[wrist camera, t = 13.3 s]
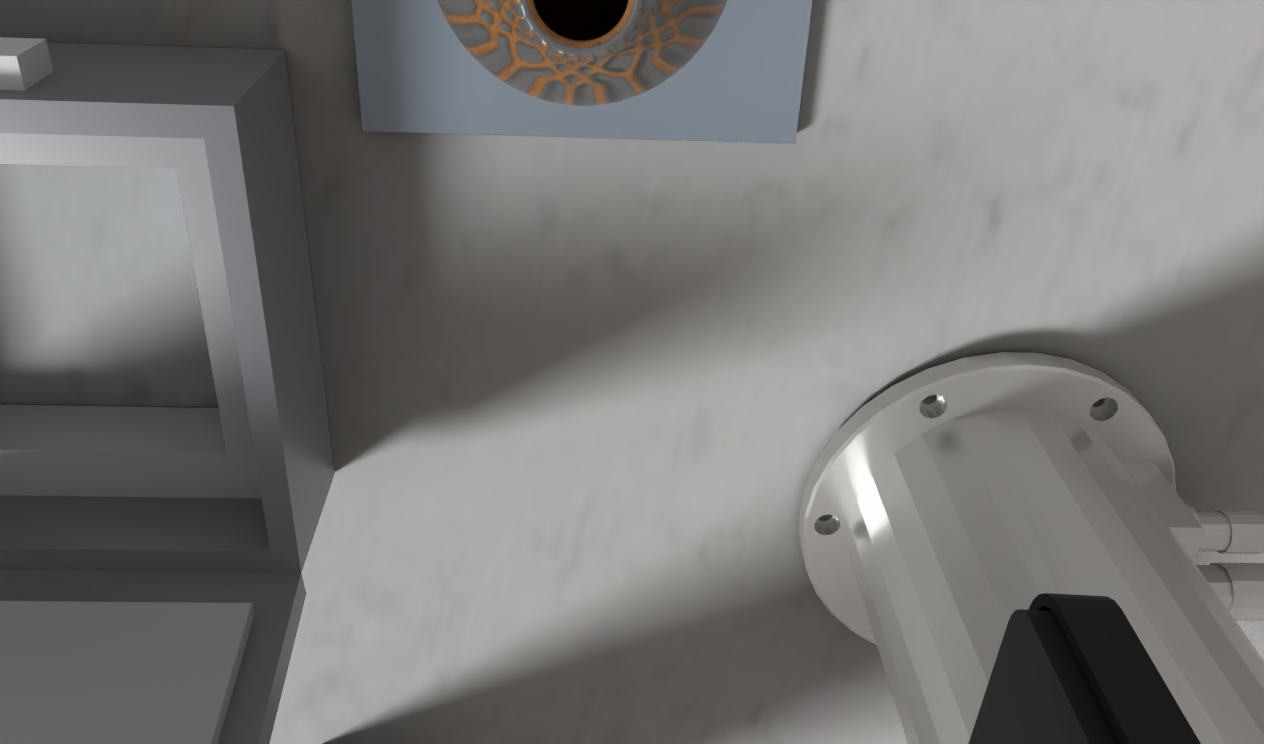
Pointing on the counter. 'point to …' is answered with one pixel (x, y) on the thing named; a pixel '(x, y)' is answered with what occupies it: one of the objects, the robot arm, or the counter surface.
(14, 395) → the counter surface
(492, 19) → the vase
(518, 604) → the counter surface
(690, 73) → the mat
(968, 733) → the robot arm
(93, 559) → the equipment case
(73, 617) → the case lid
